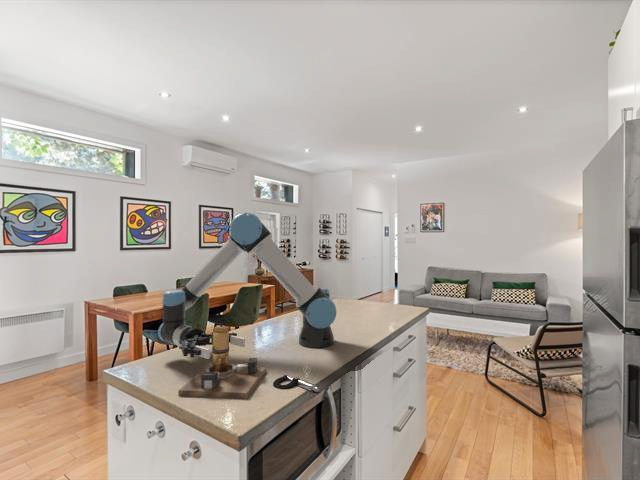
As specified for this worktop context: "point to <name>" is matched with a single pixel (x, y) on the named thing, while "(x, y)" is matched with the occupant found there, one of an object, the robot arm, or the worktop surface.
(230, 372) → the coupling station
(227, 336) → the coupling
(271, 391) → the worktop surface
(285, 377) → the micrometer
